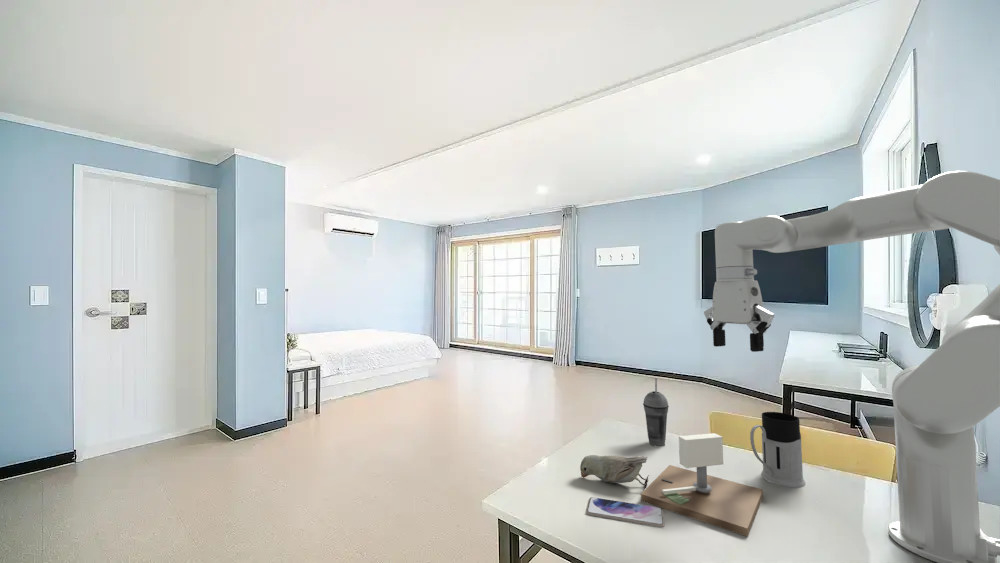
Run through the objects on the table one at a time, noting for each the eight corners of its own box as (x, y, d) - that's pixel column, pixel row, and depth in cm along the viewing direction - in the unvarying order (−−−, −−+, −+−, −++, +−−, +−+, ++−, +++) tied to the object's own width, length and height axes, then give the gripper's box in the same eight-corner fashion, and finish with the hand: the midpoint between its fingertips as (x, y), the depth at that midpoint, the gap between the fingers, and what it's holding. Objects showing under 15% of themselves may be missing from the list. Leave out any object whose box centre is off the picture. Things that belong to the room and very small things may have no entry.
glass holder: (814, 483, 92) (811, 419, 93) (771, 494, 87) (768, 426, 88) (777, 468, 100) (775, 409, 101) (736, 477, 96) (734, 415, 96)
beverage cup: (665, 439, 121) (663, 374, 122) (673, 448, 114) (671, 379, 115) (641, 439, 122) (639, 374, 123) (647, 448, 115) (645, 379, 116)
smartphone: (589, 496, 87) (662, 507, 82) (589, 500, 87) (662, 511, 82) (585, 512, 80) (664, 525, 75) (585, 516, 80) (664, 530, 75)
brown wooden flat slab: (763, 496, 87) (762, 488, 87) (747, 536, 72) (747, 527, 72) (669, 470, 100) (669, 464, 100) (641, 500, 86) (640, 492, 86)
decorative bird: (582, 473, 100) (582, 443, 100) (650, 485, 93) (649, 452, 93) (578, 482, 95) (577, 451, 95) (649, 495, 88) (648, 461, 88)
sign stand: (714, 484, 89) (712, 432, 89) (726, 492, 85) (724, 437, 86) (658, 490, 86) (656, 437, 87) (668, 498, 83) (666, 442, 83)
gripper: (783, 273, 85) (786, 352, 84) (715, 277, 101) (718, 343, 100) (757, 272, 82) (761, 354, 82) (692, 277, 99) (695, 345, 98)
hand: (737, 348), depth 91 cm, fingers open, 9 cm apart
